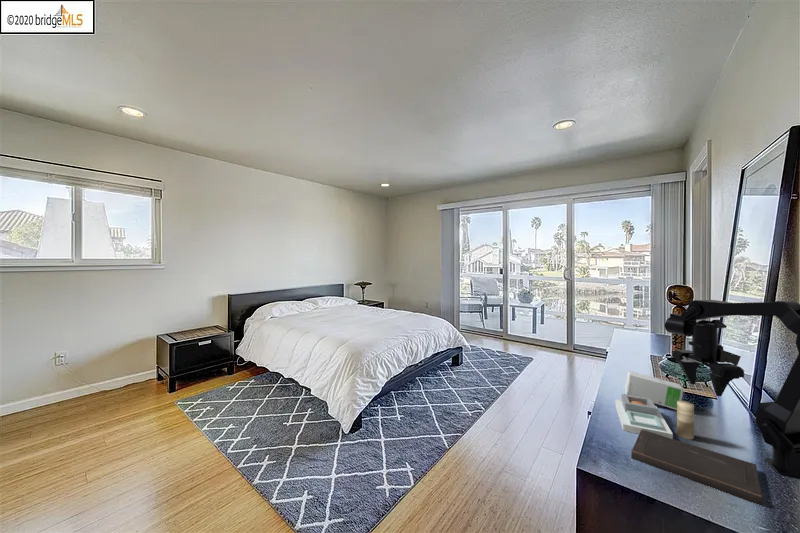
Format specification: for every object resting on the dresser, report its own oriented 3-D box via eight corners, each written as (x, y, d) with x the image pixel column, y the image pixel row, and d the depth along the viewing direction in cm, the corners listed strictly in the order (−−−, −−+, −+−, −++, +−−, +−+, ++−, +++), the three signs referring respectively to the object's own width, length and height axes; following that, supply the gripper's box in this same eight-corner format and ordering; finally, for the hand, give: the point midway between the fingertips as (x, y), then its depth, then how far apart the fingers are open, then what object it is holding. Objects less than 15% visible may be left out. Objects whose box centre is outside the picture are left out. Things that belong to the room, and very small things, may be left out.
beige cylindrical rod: (695, 441, 91) (696, 407, 91) (678, 437, 93) (679, 404, 93) (691, 434, 94) (691, 402, 94) (675, 431, 96) (675, 399, 96)
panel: (672, 440, 91) (672, 424, 91) (623, 430, 97) (623, 414, 97) (656, 411, 109) (656, 397, 108) (614, 404, 114) (614, 391, 114)
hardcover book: (641, 436, 94) (641, 429, 94) (755, 473, 78) (755, 464, 78) (631, 460, 83) (631, 451, 83) (762, 508, 67) (762, 498, 67)
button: (647, 410, 103) (647, 407, 103) (631, 407, 105) (631, 405, 105) (645, 405, 107) (645, 402, 107) (629, 402, 109) (629, 399, 109)
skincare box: (680, 411, 108) (626, 396, 116) (675, 404, 114) (624, 391, 122) (684, 388, 108) (629, 374, 116) (679, 382, 114) (627, 370, 122)
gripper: (765, 348, 86) (766, 404, 86) (706, 333, 105) (707, 379, 105) (721, 347, 88) (722, 402, 88) (671, 333, 106) (671, 378, 106)
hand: (705, 389), depth 96 cm, fingers open, 9 cm apart
